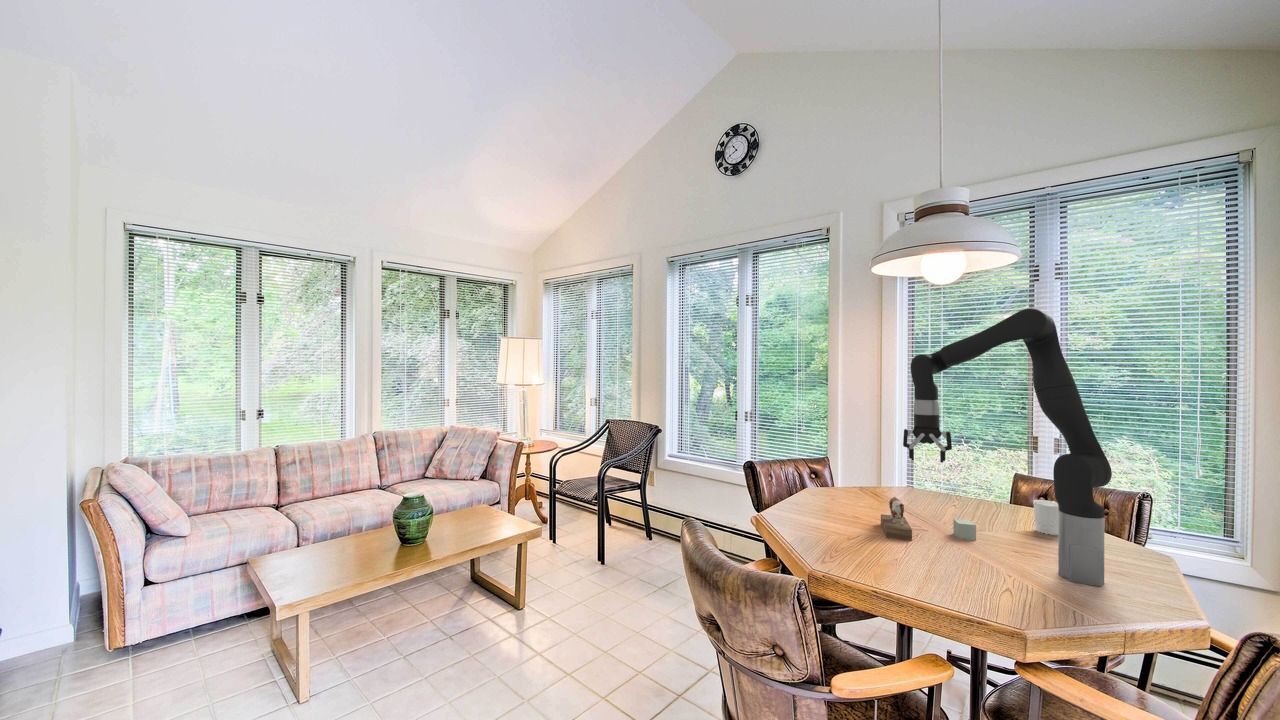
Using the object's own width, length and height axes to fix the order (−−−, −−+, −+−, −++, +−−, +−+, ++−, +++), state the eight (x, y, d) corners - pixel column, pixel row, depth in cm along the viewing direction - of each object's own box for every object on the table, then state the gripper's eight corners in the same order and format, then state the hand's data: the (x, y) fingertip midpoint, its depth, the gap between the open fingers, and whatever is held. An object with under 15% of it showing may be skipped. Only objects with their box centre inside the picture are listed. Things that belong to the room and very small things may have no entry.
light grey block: (1028, 530, 172) (1028, 501, 172) (1041, 527, 175) (1041, 498, 175) (1055, 537, 164) (1055, 507, 165) (1068, 534, 168) (1068, 504, 168)
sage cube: (976, 540, 161) (976, 525, 161) (958, 538, 162) (958, 523, 163) (970, 535, 166) (970, 520, 166) (953, 533, 167) (953, 519, 167)
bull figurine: (889, 527, 163) (889, 502, 163) (889, 515, 175) (889, 492, 175) (905, 528, 161) (904, 503, 161) (903, 517, 173) (903, 494, 173)
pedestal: (912, 542, 160) (912, 530, 160) (886, 539, 162) (886, 527, 162) (904, 528, 174) (904, 516, 174) (880, 525, 177) (880, 514, 177)
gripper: (902, 413, 169) (903, 461, 168) (952, 414, 162) (952, 464, 161) (902, 411, 175) (903, 457, 175) (950, 413, 168) (951, 461, 168)
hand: (927, 461), depth 168 cm, fingers open, 8 cm apart
